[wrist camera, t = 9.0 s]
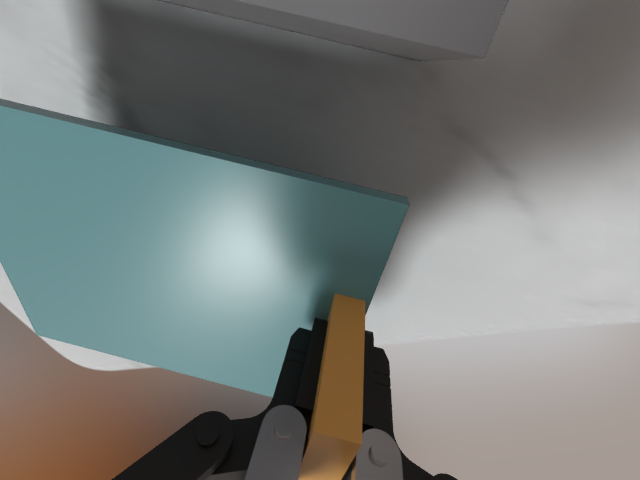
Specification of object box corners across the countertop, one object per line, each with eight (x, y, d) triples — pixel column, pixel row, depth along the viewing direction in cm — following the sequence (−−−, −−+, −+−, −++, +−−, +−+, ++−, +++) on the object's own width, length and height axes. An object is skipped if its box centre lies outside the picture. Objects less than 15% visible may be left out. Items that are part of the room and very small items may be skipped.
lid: (59, 316, 17) (-84, 432, 12) (-37, 81, 11) (-466, 99, 5) (330, 387, 17) (310, 541, 11) (404, 188, 10) (442, 330, 5)
